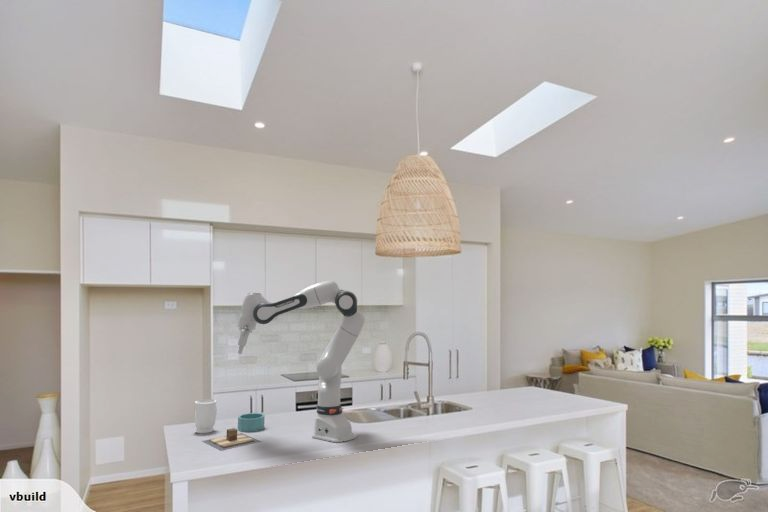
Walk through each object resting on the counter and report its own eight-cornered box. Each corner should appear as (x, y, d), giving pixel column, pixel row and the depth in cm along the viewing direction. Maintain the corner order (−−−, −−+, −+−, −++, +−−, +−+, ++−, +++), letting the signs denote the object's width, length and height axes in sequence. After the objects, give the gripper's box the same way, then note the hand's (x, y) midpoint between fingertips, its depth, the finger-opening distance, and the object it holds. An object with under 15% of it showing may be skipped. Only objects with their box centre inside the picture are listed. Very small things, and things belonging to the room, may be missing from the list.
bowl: (268, 429, 247) (269, 416, 247) (245, 434, 238) (245, 420, 238) (256, 424, 256) (256, 412, 257) (233, 429, 247) (233, 416, 248)
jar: (206, 435, 236) (207, 403, 237) (189, 433, 239) (190, 402, 240) (220, 429, 246) (221, 399, 247) (203, 428, 249) (204, 398, 250)
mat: (261, 442, 223) (261, 441, 223) (220, 451, 209) (220, 450, 210) (241, 434, 238) (241, 433, 238) (201, 442, 224) (201, 441, 224)
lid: (254, 441, 223) (254, 429, 224) (223, 448, 213) (223, 435, 214) (239, 435, 234) (239, 423, 235) (209, 441, 224) (209, 429, 224)
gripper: (252, 328, 230) (245, 356, 229) (253, 323, 250) (247, 349, 249) (239, 325, 229) (232, 354, 228) (241, 320, 249) (235, 347, 248)
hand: (240, 351), depth 239 cm, fingers open, 8 cm apart
